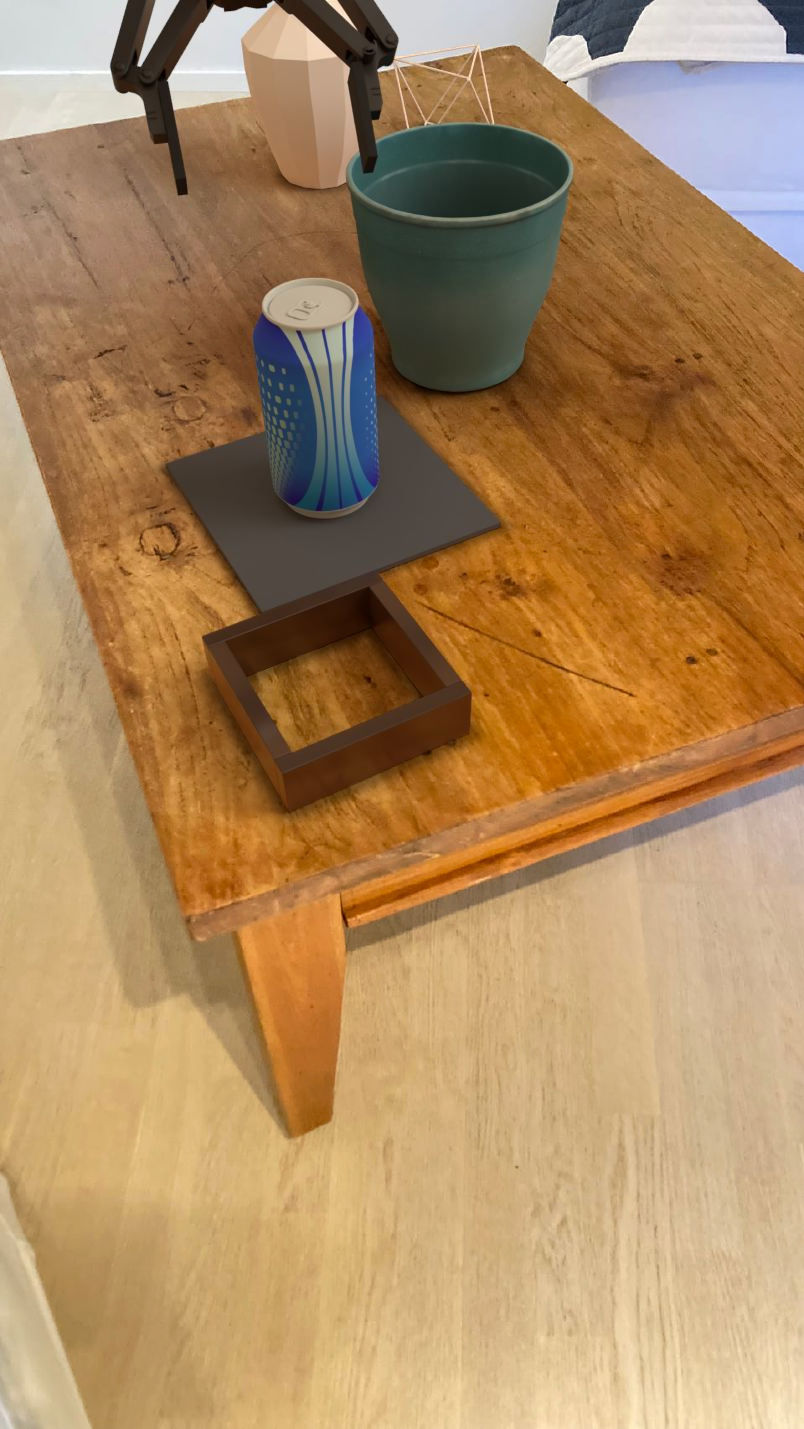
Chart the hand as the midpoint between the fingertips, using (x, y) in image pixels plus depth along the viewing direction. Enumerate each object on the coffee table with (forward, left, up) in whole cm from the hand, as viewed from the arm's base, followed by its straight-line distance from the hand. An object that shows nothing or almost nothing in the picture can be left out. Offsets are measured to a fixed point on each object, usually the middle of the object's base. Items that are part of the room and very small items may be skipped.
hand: (277, 176), depth 75 cm
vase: (-44, +22, -21) cm, 53 cm away
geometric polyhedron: (-44, +39, -21) cm, 62 cm away
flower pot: (-2, +16, -21) cm, 26 cm away
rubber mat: (+10, -3, -20) cm, 23 cm away
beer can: (+10, -3, -20) cm, 23 cm away
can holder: (+30, -12, -20) cm, 38 cm away
